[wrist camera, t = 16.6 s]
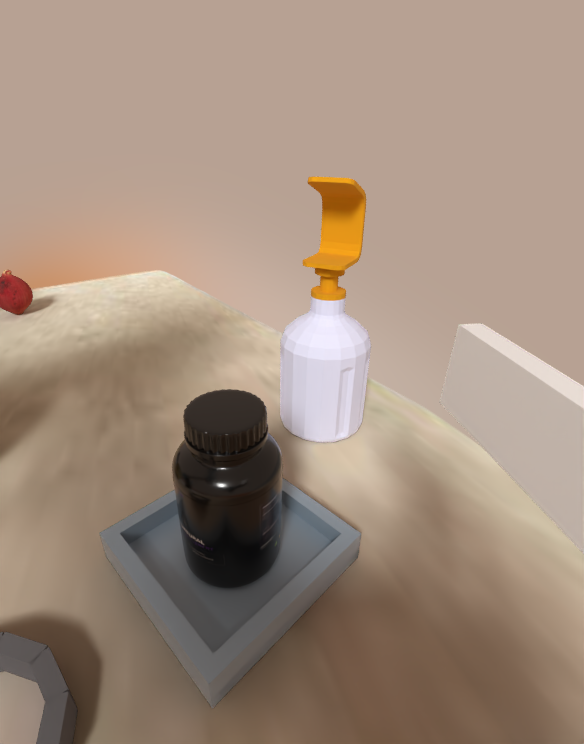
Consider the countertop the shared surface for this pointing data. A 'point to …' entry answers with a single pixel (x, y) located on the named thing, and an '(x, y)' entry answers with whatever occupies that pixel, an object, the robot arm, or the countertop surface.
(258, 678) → the countertop surface
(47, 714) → the holster ring
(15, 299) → the pomegranate
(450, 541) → the countertop surface
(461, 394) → the robot arm
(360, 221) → the soap bottle
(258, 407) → the supplement bottle
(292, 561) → the tray
